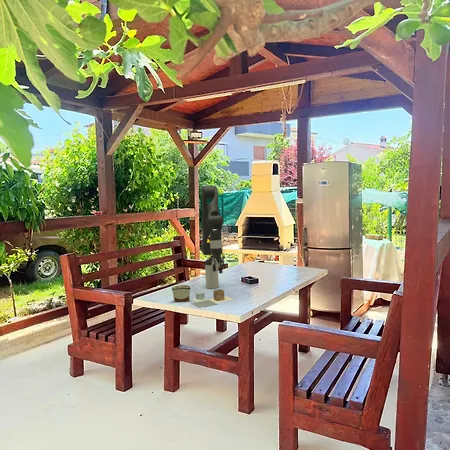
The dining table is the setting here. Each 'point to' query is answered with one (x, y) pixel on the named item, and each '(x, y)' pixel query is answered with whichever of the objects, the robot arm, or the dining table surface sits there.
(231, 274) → the dining table surface
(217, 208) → the robot arm
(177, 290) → the food container
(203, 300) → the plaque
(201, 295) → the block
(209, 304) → the mat
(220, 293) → the block
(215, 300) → the plaque
